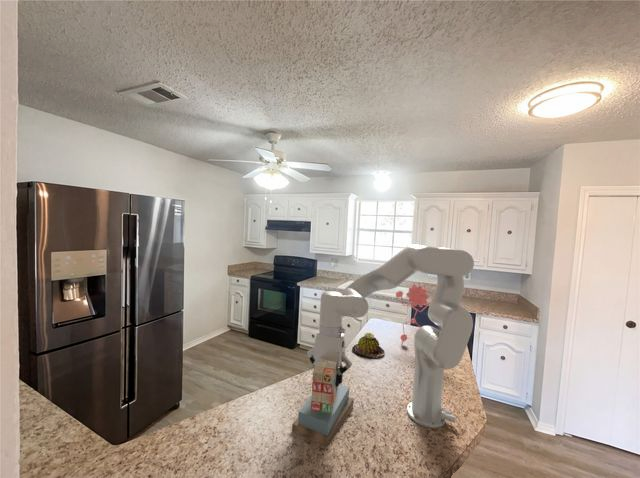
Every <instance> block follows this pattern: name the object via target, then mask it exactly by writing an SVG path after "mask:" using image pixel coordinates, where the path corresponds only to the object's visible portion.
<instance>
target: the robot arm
mask: <svg viewBox="0 0 640 478" xmlns="http://www.w3.org/2000/svg"><path fill="white" fill-rule="evenodd" d="M474 266H475V259H474V258H473V256H472V255H471V254H470V253H469V252H467V251H466V250H464V249H463V250H462V249H456V248H450V247H442V246H441V247H435V246H427V245H422V244H416V243H415V244H414V243H413V244H410V245H407V246H406V247H404V248H403V249H402V250H400V251H399V252H397V253H396V255H394V256H393V257H391V258H390V259H389V260H388V261H386V262H385V263H383V264H382V265H381V266H380V267H378V268H376V269H373V270H371V271H370V272H368V273H365V274H363V275H362V276H360V277H359V278H357V279H356V280H354V281H353V282H352V283H350V284H349V285H347V286H346V287H345V288H344V289H343V290H342V291H341V292H339V291H334V290H327V291H324V292H322V293H321V296H320V307H319V308H320V309H319V325H318V330H317V332H316V335H315V339H314V346H313V348H311V349H309V350H308V351H306V354H307V357H308V358H309V361H310V362H311V364H312V367H313V369H314V368H315V366H316V364H317V362H318V360H319V357H320V358H323V359H326V360H329V361H333V362H336V363H337V365H336V370H337V374H336V385H335V386H336V387H338V386H339V384H341V385H342V383H343V376H344V374H345V373H346V372H347V371H348V370H349V369H350V368H351V367H352V366H353V363H352V362H351V360H350V359H349V358H348V357H347V356H346V340H345V334H346V330H347V329H346V328H344V327H343V317H348V318H352V319H353V318H354V319H359V318H363V317H365V316H366V315H367V313H368V311H369V303H368V301H367V299H366V298H367V297H369V296H370V295H372V294H373V293H376V292H379V291H384V290H385V291H386V290H392V289H395V288H398V287H399V286H400V285H402V284H403V283H404V282H405V281H406V280H408V279H409V278H410V277H412V276H413V275H414V274H415V273H417V272H420V273H423V274H428V275H436V276H437V277H436V278H437V282H436V286H435V290H434V293H433V295H432V298H431V301H430V302H431V303H430V304H429V305H428V310H427V317H428V319H429V320H430V321H431V322H432V323H433V324H435V325H436V326H437V327H439V328H440V329H438V328H437V327H435V326H432V325H422V326H420V327H418V328H417V330H416V332H415V333H414V337H413V344H414V345H413V346H414V372H413V383H412V384H413V386H412V398H411V399H412V400H411V401H410V402H409V403H408V404H407V406H406V412H407V415H408V416H409V418H410V420H412V421H413V422H415V423H416V424H417V425H420V426H423V427H425V428H430V429H439V428H442V427H443V426H444V425H445V423H446V421H449V422H452V423H456V415H453V414H452V413H453V412H452V411H451V410H448V409H445V408H444V407H443V402H442V401H443V390H444V389H443V388H444V377H445V376H444V375H445V370H446V371H447V370H448V371H449V370H453V369H454V368H455V369H456V367H457V366H458V365H459V364H460V363H461V361H462V359H463V356H464V354H465V351H466V348H467V346H468V343H469V340H470V337H471V335H472V332H473V327H474V321H473V316H472V315H471V312H470V311H468V309H466V308H465V307H463V306H461V305H460V304H461V301H462V297H463V294H464V289H465V282H464V277H465V276H467V275H470V273H471V272H472V271H473V269H474ZM343 363H344V364H345V365H344V366H343Z"/></svg>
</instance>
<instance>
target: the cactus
mask: <svg viewBox="0 0 640 478" xmlns="http://www.w3.org/2000/svg"><path fill="white" fill-rule="evenodd" d="M351 348H352V349H351V350H352V351H353V352H354V354H355V353H356V354H358V355H360V356H363V357H367V358H372V359H373V358H374V359H375V358H379V357H382V356H384V355H385V353H386V352H385V350H384V349H383V348H382V347H381V345H380V342H379V340H378V339H377V338H376V337H375V335H374V334H373V333H371V332H366V333H365V334H364V335H363V336H361V337H360V338H359V339H358V342H357V344H354V345H353V346H352V347H351Z"/></svg>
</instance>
